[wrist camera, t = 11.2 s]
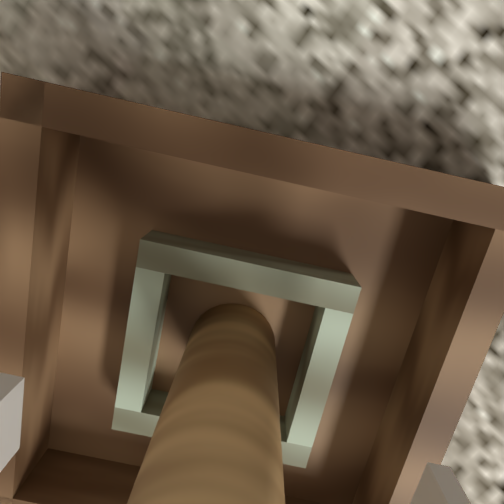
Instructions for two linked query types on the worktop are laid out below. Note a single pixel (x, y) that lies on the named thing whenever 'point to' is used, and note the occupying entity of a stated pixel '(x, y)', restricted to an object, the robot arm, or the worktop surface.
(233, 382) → the peg
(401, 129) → the worktop surface
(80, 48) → the worktop surface
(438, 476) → the robot arm
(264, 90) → the worktop surface
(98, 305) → the box
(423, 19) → the worktop surface
